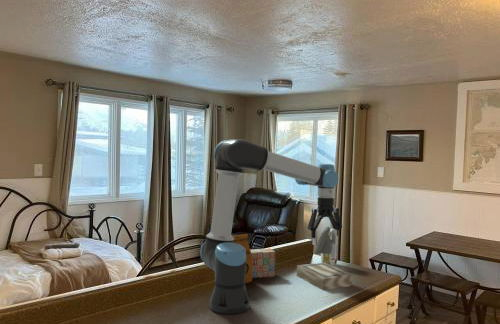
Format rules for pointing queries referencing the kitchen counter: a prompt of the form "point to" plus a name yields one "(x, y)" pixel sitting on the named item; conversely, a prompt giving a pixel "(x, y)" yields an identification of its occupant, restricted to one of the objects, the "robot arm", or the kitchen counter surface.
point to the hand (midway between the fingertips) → (324, 244)
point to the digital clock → (324, 243)
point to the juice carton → (332, 257)
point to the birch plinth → (324, 276)
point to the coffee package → (243, 241)
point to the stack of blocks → (263, 263)
